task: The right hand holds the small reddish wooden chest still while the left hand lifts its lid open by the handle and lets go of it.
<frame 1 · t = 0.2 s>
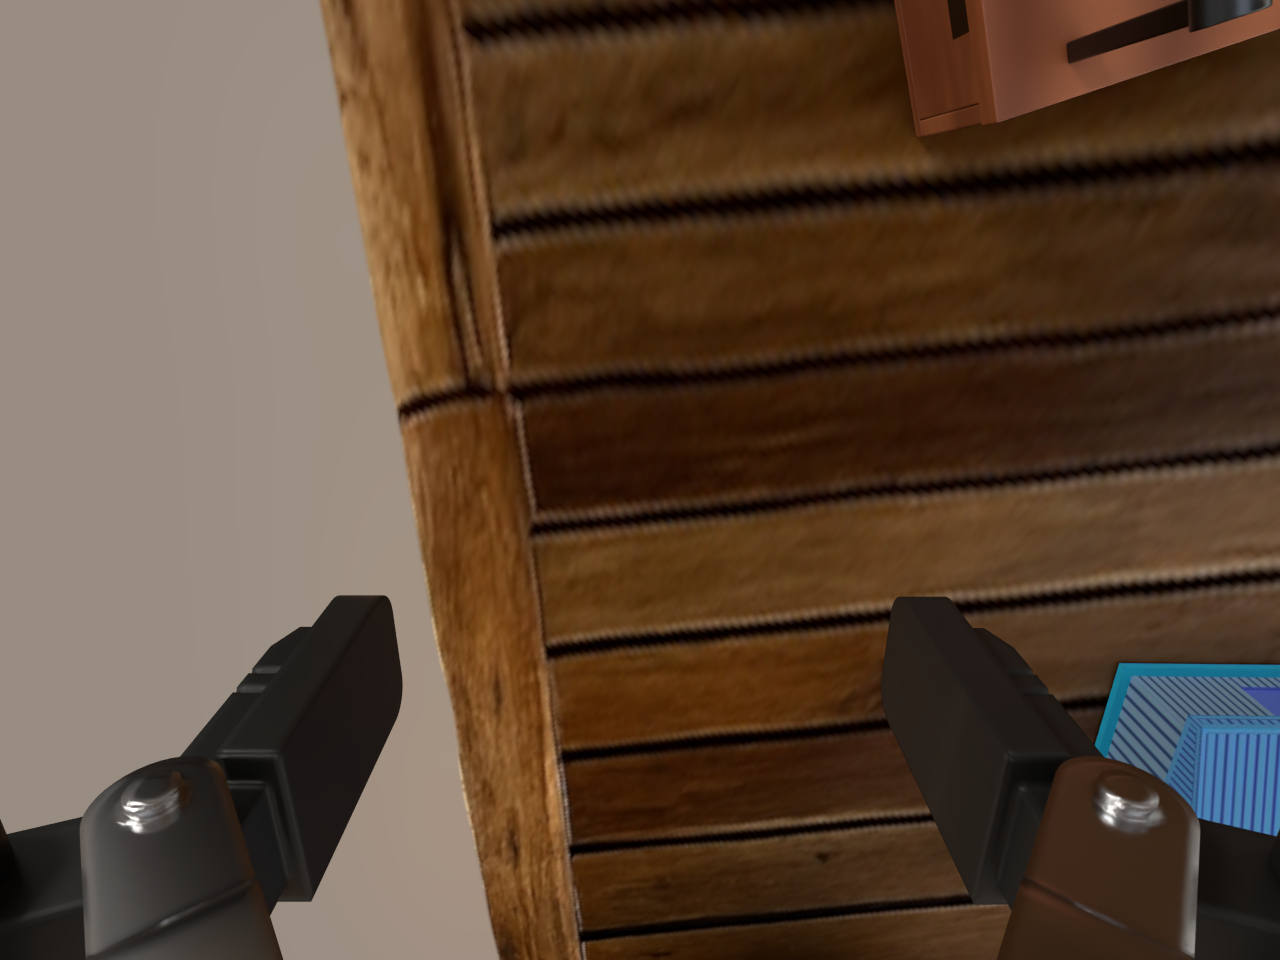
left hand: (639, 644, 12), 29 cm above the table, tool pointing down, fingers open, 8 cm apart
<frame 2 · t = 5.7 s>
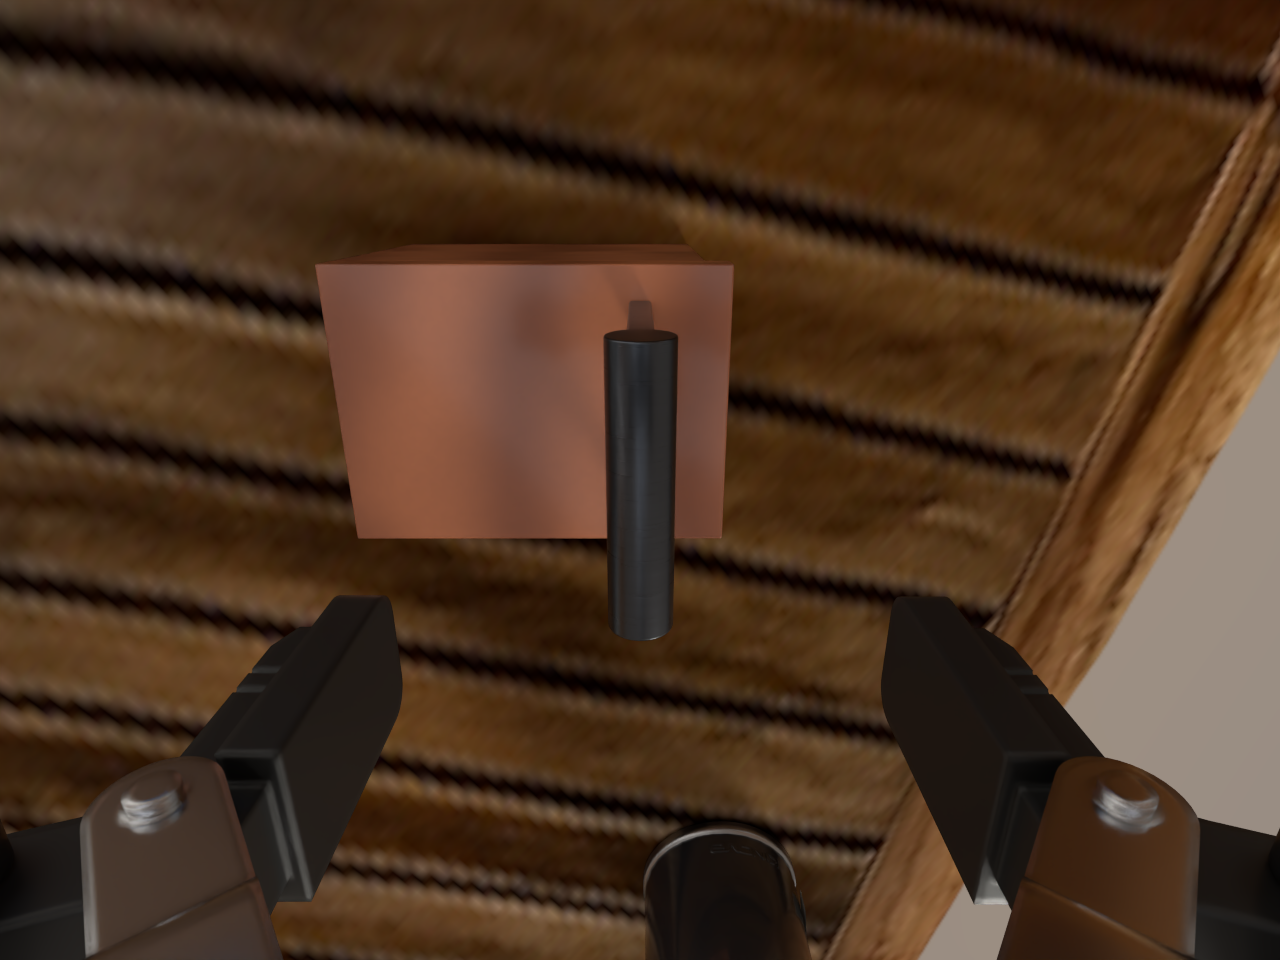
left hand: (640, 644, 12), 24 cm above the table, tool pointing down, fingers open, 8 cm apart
chest: (554, 350, 34), on the table
lid: (517, 442, 21), point 14 cm above the table, hinge at 0.0°
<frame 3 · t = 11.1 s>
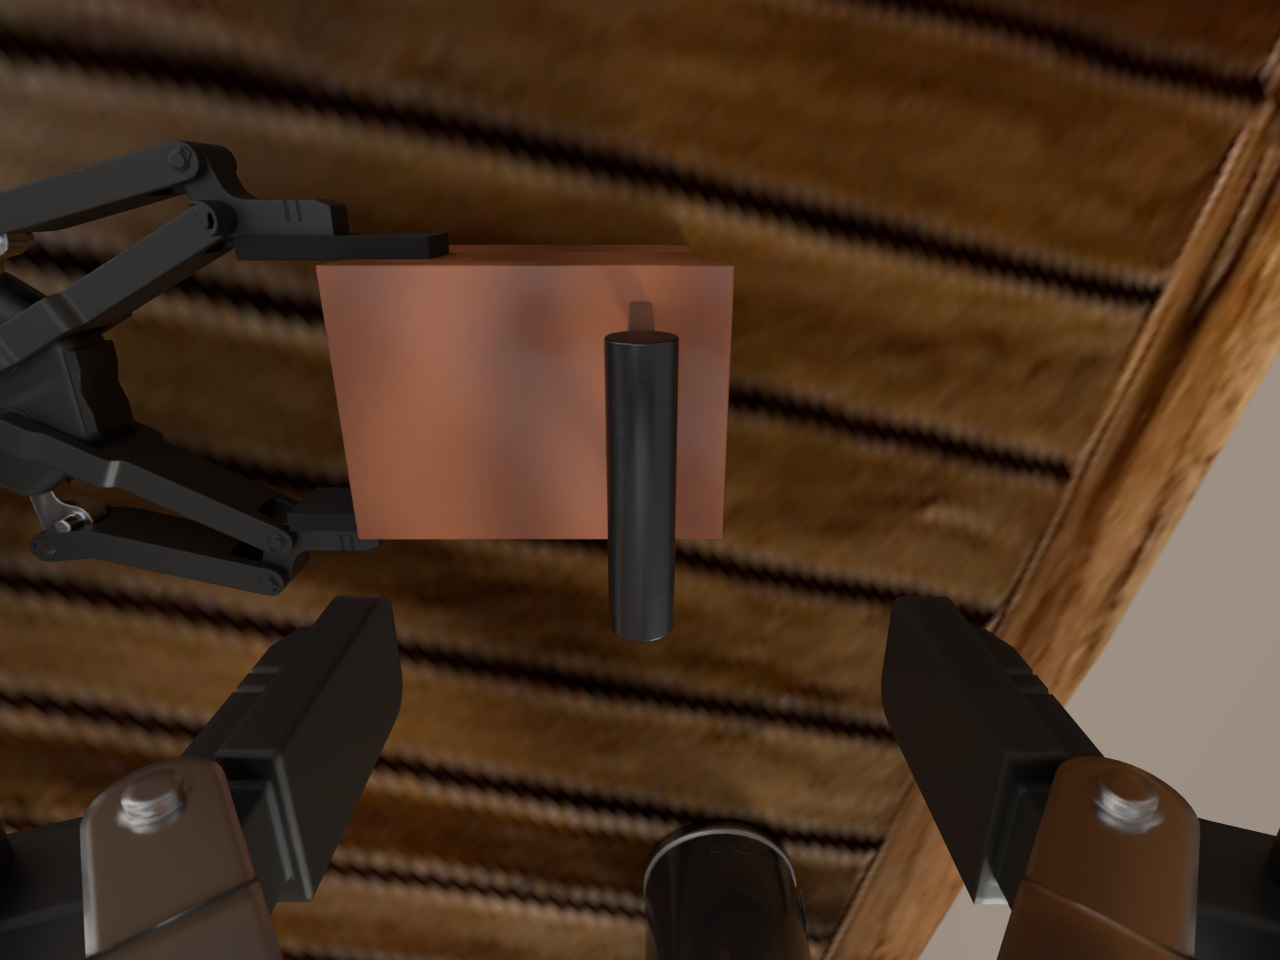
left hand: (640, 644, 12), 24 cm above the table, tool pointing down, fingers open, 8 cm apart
right hand: (452, 385, 27), fingers closed on chest, 9 cm apart
chest: (554, 350, 34), on the table, touching right hand
lid: (517, 443, 21), point 14 cm above the table, hinge at 0.0°
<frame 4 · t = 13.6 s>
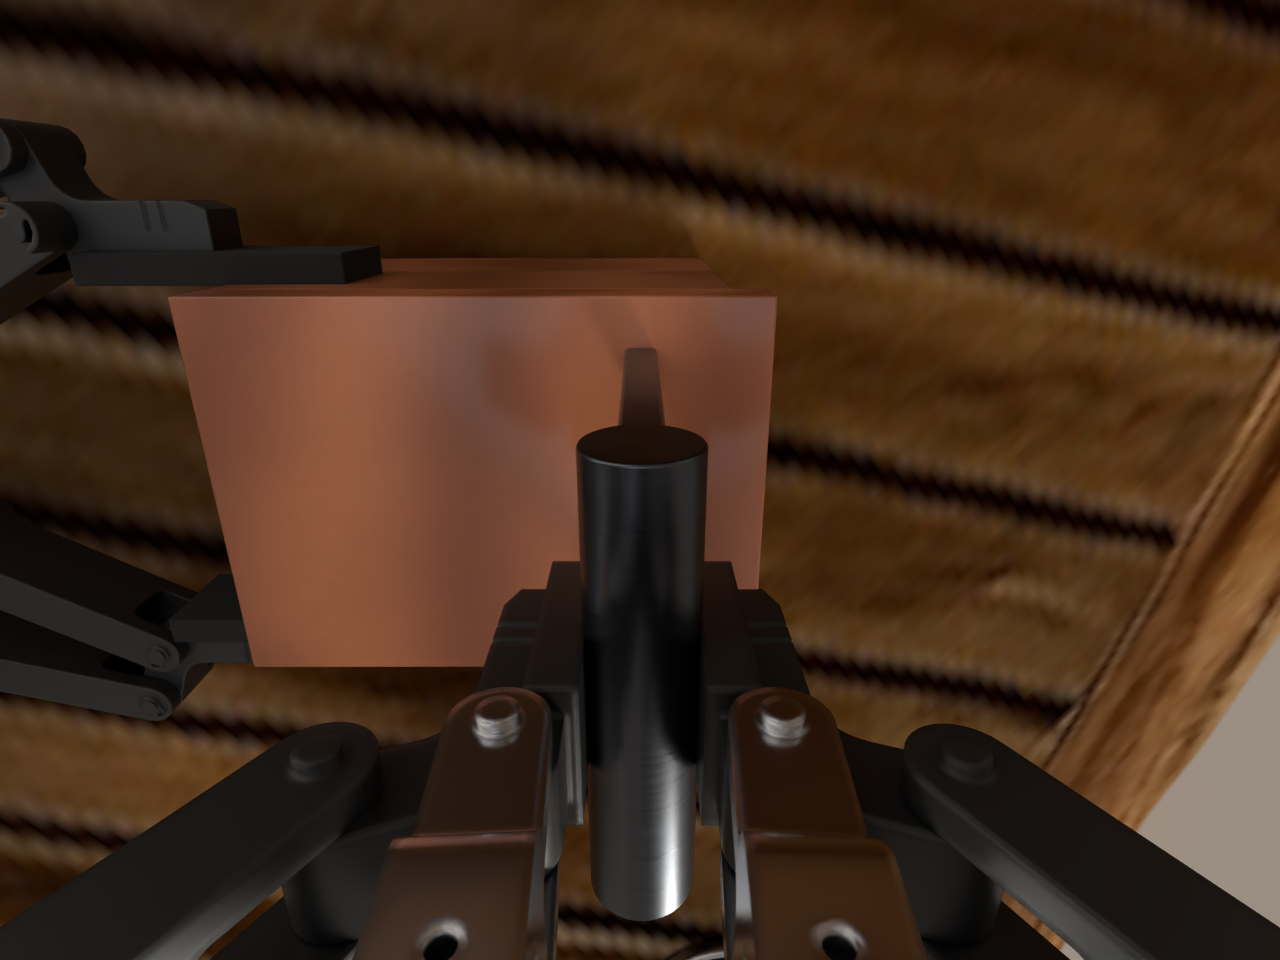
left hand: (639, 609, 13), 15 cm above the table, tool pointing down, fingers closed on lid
chest: (532, 391, 27), on the table, touching right hand
lid: (456, 566, 14), point 14 cm above the table, hinge at 0.1°, touching left hand
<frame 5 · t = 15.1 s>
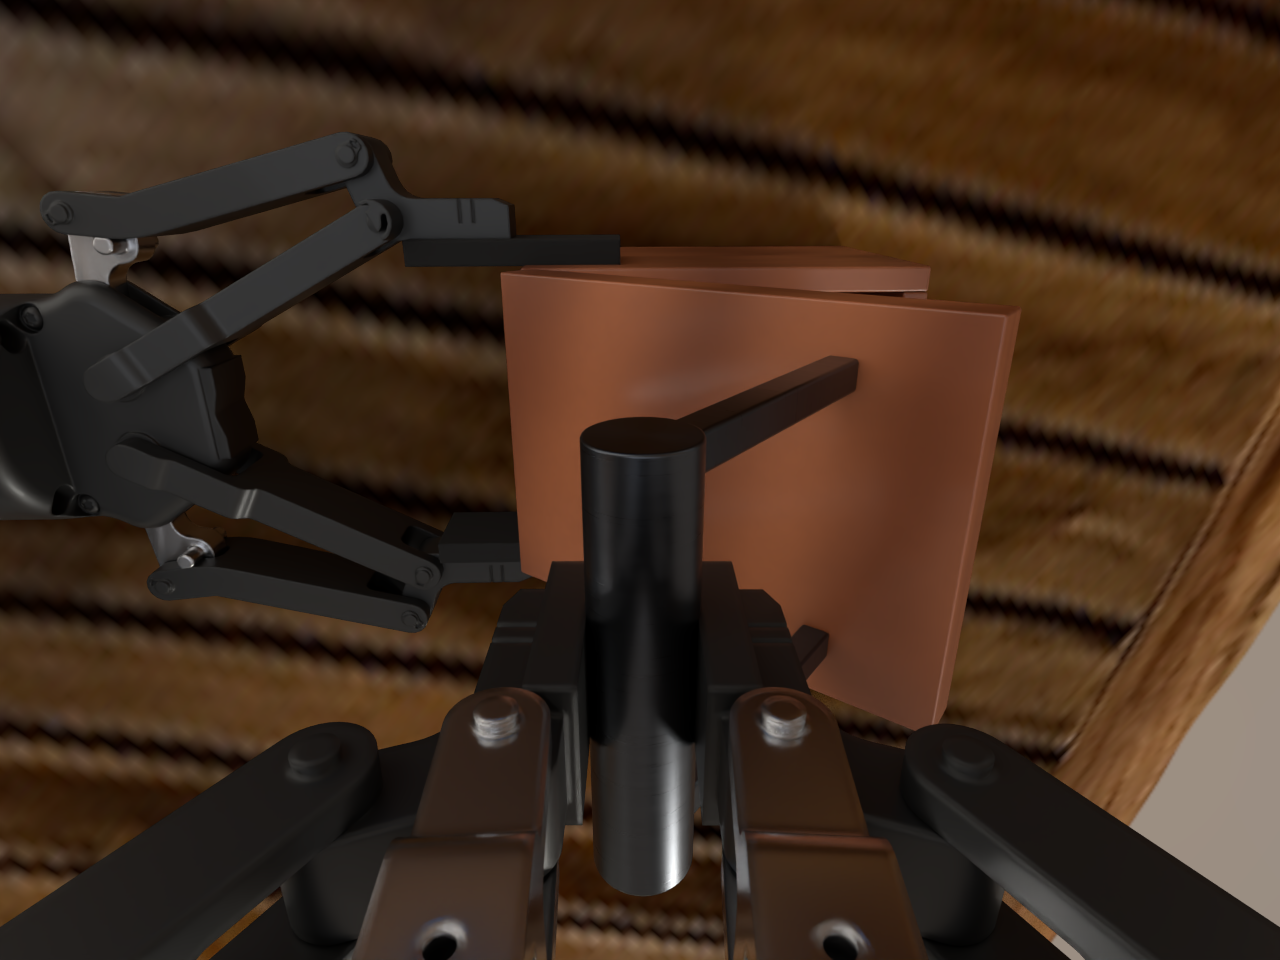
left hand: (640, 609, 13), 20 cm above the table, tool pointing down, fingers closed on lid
right hand: (621, 402, 25), fingers closed on chest, 9 cm apart
chest: (693, 360, 31), on the table, touching right hand
lid: (611, 526, 16), point 17 cm above the table, hinge at 38.3°, touching left hand
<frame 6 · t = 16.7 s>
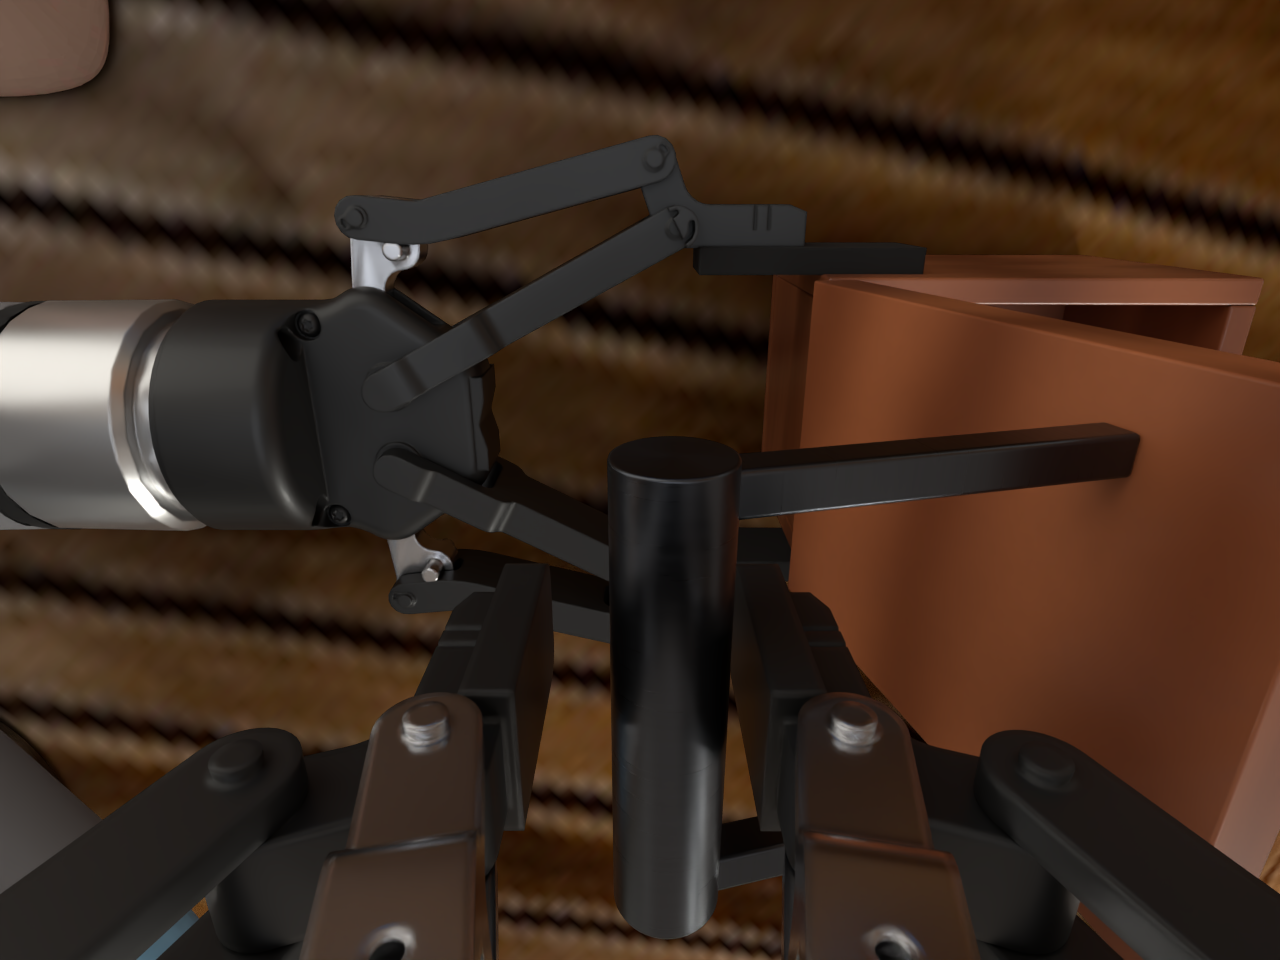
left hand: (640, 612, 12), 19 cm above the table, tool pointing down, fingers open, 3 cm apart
right hand: (887, 416, 24), fingers closed on chest, 9 cm apart
chest: (912, 372, 30), on the table, touching right hand
lid: (795, 560, 14), point 17 cm above the table, hinge at 75.3°
when the right hand's fingers open (7 cm above the table, at t = 20.7 s): chest stays where it is, on the table.
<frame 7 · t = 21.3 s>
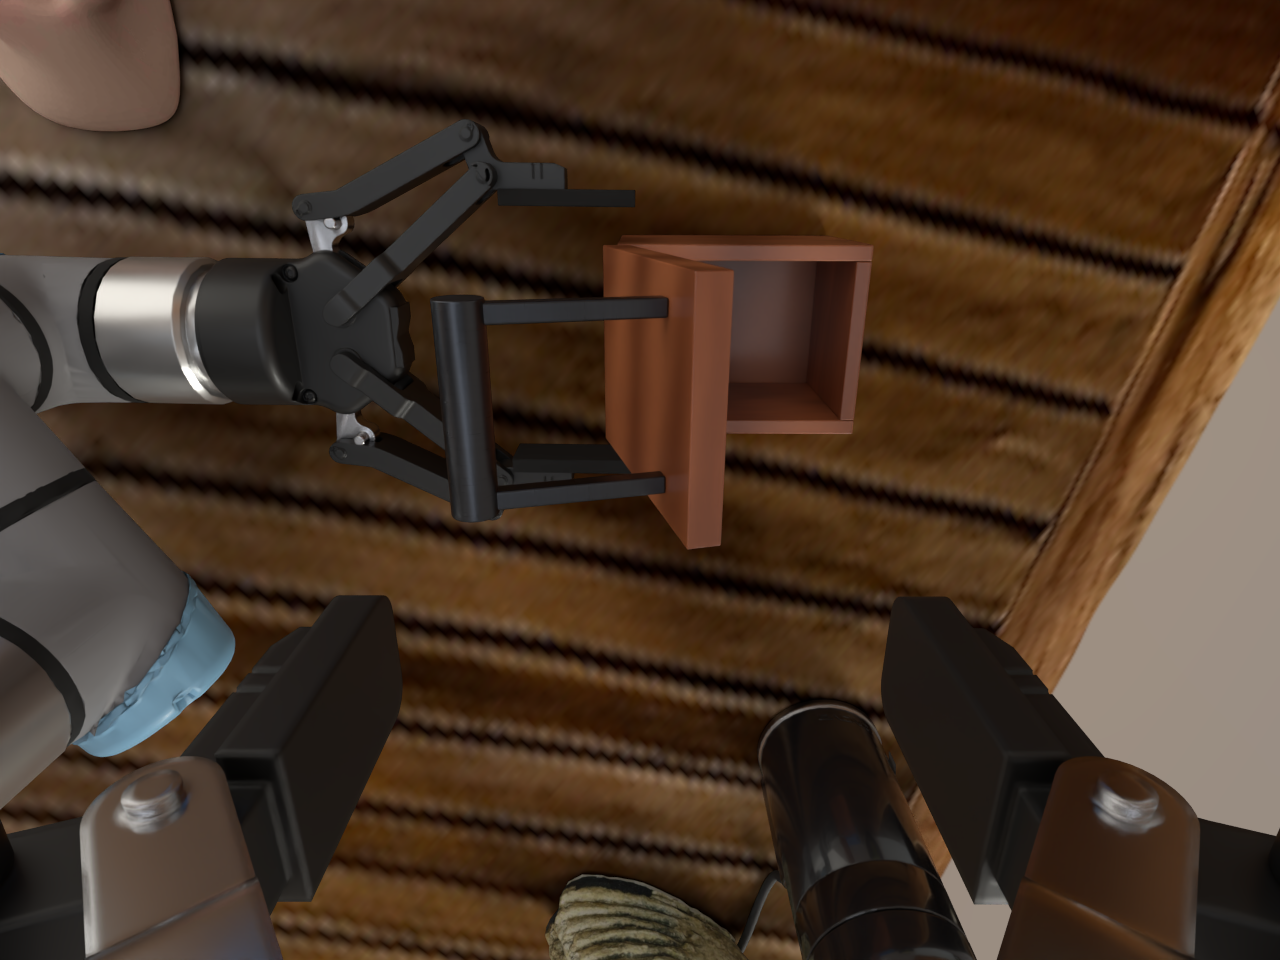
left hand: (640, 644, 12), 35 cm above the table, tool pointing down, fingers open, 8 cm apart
right hand: (634, 337, 38), fingers open, 13 cm apart
chest: (721, 316, 44), on the table
lid: (559, 380, 29), point 17 cm above the table, hinge at 74.8°
fossil: (656, 919, 63), on the table
anatomical model: (63, 5, 38), on the table
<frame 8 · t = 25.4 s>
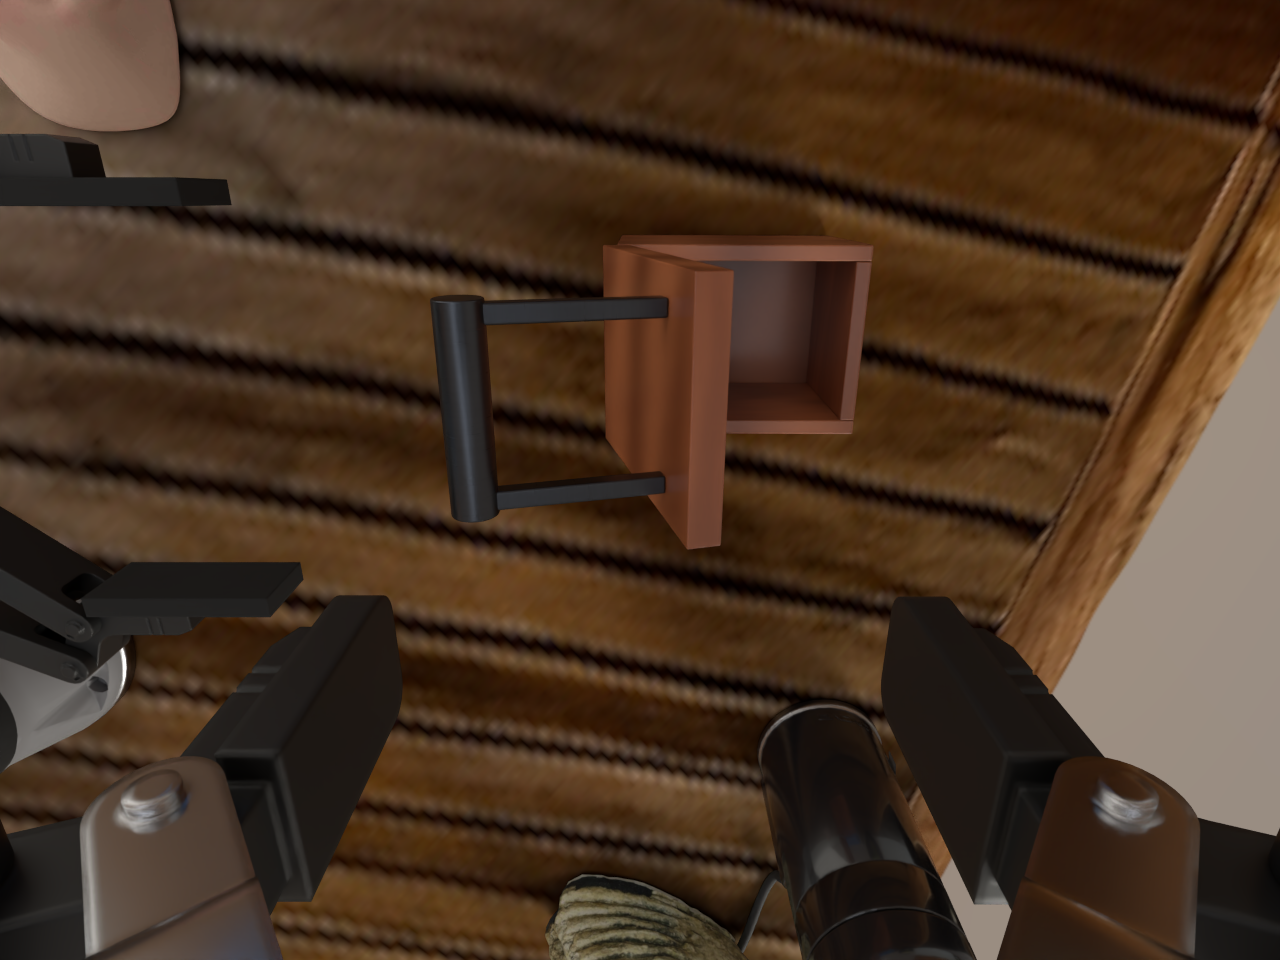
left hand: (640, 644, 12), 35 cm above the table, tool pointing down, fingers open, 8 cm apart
chest: (721, 316, 44), on the table
lid: (559, 380, 29), point 17 cm above the table, hinge at 74.8°
fossil: (656, 919, 63), on the table
anatomical model: (63, 5, 38), on the table
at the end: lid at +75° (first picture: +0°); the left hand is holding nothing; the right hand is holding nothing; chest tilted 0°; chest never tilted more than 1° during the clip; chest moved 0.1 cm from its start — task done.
